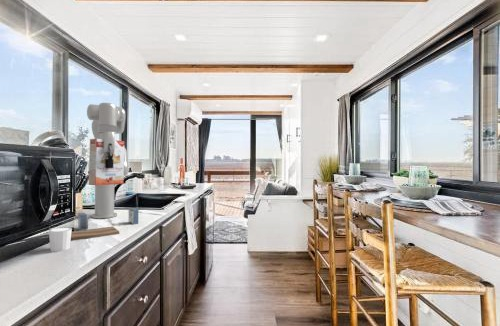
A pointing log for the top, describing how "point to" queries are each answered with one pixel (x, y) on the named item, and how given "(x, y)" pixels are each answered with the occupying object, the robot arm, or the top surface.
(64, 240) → the white short tapered cylinder
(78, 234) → the walnut board
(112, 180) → the cracker box
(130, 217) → the twin grey pillars
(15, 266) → the top surface
